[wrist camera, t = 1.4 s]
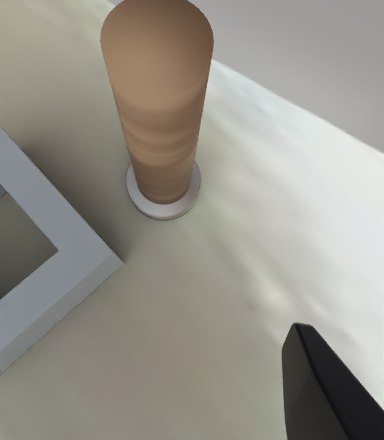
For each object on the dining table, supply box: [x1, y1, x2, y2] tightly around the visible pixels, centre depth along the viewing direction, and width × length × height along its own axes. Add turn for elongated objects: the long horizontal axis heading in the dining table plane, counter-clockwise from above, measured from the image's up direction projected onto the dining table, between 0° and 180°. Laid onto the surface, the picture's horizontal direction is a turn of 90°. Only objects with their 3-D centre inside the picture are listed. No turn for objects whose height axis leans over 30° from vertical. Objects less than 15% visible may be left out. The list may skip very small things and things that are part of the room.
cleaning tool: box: [100, 0, 214, 221], centre depth 17 cm, size 4×4×13 cm
